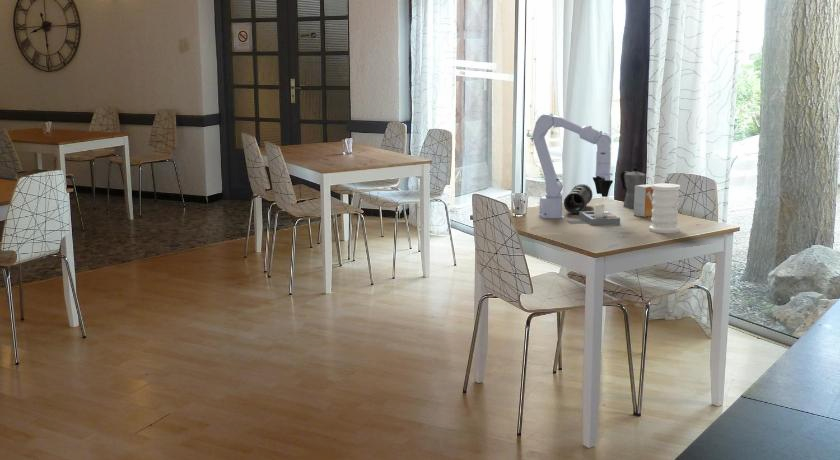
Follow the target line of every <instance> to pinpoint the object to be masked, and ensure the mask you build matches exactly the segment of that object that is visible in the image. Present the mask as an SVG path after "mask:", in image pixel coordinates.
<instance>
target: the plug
mask: <svg viewBox="0 0 840 460" xmlns="http://www.w3.org/2000/svg"><path fill="white" fill-rule="evenodd" d="M593 205H594V206H593V211H594V218H604V211H605V204H603V203H596V204H593Z"/></svg>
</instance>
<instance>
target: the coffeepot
mask: <svg viewBox="0 0 840 460" xmlns="http://www.w3.org/2000/svg"><path fill="white" fill-rule="evenodd" d="M619 177H620V180H621V186H622V189H624V190H626V193H625V195H624V196H625V197H624V202H623V208H626V209H634V194H635V186H638V185H645V180H646V178H647V174H646V173H643V172H640V171H638V167H636V166H635V167H633V171H626V170H622V172H621V173H620V176H619Z"/></svg>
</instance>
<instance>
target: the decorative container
mask: <svg viewBox="0 0 840 460" xmlns="http://www.w3.org/2000/svg"><path fill="white" fill-rule="evenodd" d="M651 185H652V189H653V194H652V196H653V201H652V205H653V209H652V216H651V218H650V220H651V225H649V226H648V230H650V232H652V233H656V232H657V233H656V234H675V233H676V232H677V233H678V232H680V227H679V226H677V223H678V221H679V219H678V214H679V210H678V207H679V197H680V194H679V190H681V184H677V183H669V182H668V183H664V182H663V183H653V184H651Z"/></svg>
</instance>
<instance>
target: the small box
mask: <svg viewBox="0 0 840 460" xmlns="http://www.w3.org/2000/svg"><path fill="white" fill-rule="evenodd" d="M652 194H653V189H652V184H648V183H644V185H638V186H635V194H634V208H633V216H635V215H636V217H640V216H643V217H642V218H647V217H646V216H648V217H652V209H653V205H652V201H653V196H652Z"/></svg>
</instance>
